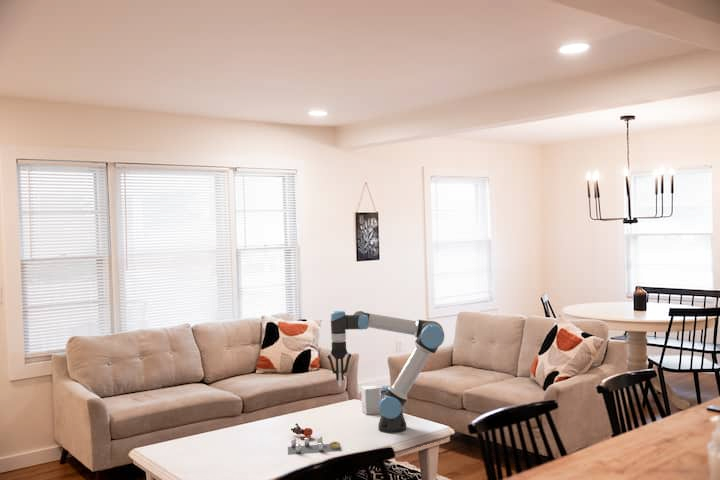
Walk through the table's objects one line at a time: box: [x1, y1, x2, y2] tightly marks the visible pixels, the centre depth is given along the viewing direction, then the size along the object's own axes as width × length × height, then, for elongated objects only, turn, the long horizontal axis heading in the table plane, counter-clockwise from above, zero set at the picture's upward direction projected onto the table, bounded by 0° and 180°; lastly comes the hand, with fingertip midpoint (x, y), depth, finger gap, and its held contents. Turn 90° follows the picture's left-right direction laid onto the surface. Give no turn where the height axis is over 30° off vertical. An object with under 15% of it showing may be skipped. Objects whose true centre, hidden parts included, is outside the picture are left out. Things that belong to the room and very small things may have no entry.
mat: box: [287, 442, 343, 456], centre depth 325 cm, size 26×12×1 cm, turn 96°
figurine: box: [290, 423, 313, 441], centre depth 344 cm, size 10×8×15 cm
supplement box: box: [360, 384, 381, 416], centre depth 390 cm, size 9×9×15 cm
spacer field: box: [290, 436, 324, 455], centre depth 325 cm, size 15×11×4 cm
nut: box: [329, 441, 340, 449], centre depth 326 cm, size 5×4×2 cm
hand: (340, 386), depth 345 cm, fingers closed
